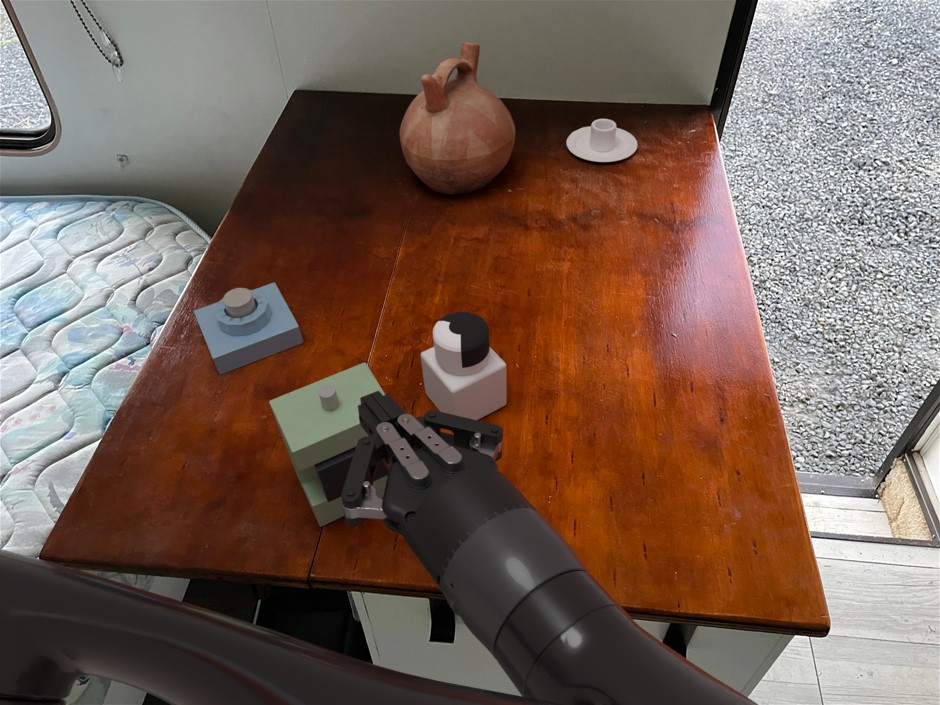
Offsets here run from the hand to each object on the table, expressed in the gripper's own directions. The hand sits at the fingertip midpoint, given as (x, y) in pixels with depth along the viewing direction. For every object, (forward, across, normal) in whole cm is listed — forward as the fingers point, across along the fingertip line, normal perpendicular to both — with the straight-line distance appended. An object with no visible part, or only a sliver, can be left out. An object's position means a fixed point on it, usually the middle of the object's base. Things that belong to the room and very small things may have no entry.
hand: (369, 403), depth 54 cm
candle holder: (+49, -68, +8) cm, 84 cm away
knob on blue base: (+41, -2, +18) cm, 44 cm away
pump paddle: (+9, -2, +17) cm, 20 cm away
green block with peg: (+12, -2, +21) cm, 25 cm away
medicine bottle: (+15, -19, +19) cm, 31 cm away
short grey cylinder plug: (+40, -1, +13) cm, 42 cm away
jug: (+56, -43, +11) cm, 72 cm away
